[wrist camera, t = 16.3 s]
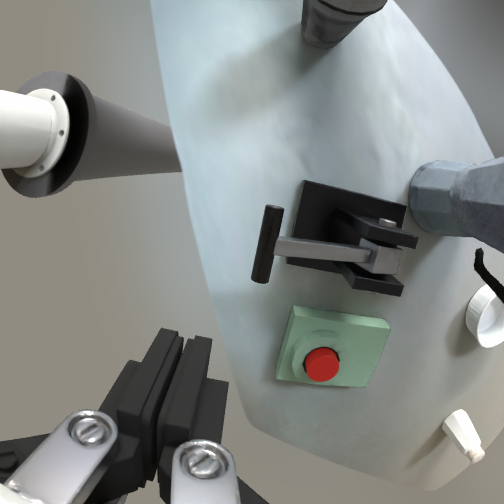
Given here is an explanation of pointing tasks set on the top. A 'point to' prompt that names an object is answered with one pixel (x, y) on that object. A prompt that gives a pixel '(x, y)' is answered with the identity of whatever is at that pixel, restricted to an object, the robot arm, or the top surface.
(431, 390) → the top surface
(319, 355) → the stop button
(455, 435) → the pepper shaker
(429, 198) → the moka pot
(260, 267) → the lever
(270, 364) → the top surface
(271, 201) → the top surface
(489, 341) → the ramekin
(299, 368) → the control block
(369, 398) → the top surface
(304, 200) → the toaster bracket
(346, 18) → the beverage cup
